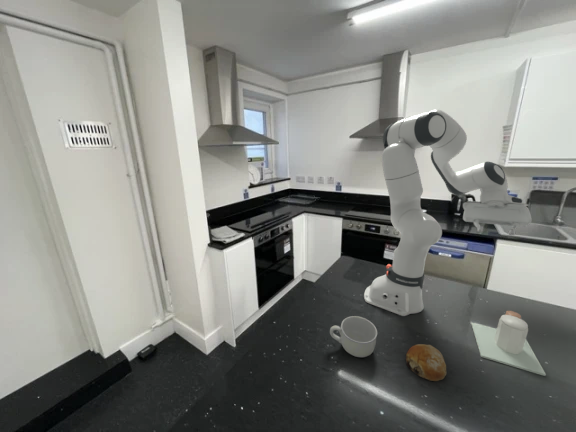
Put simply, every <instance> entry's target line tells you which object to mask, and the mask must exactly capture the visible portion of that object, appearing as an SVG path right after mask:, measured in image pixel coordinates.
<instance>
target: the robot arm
mask: <svg viewBox="0 0 576 432" xmlns="http://www.w3.org/2000/svg"><path fill="white" fill-rule="evenodd" d="M467 137H468V135H467V133H466V131H465V129H464V128H463V127H462V126H461V125H460V124H459V122H458V121H457V120H455V119H454V118H453V117H452V116H451V115H449V114H448V113H447V112H445V111H443V110H441V109H432V110H429V111H426V112H422V113H420V114H415V115H412V116H408V117H404V118H402V119H400V120H397V121H395V122H393V123H391V124H389V125H388V126H387V127H386V128H385V129H384V131H383V135H382V143H383V147H384V149H383V151H382V153H381V162H382V172H383V176H384V179H385V184H386V188H387V192H388V193H387V194H388V196H389V203H390V217H389V218H390V222H391V224H392V226H393V227H394V229H395V231H398V232H399V233H400V234H399V235H400V239H399V240H400V241H399V242H398V246H397V247H396V248H395V249H394V251H393V257H392V264H390V263H388V264H387V265H386V266H385V268H386V269H385V270H386V272H385V274H384V275H381V276H378V277H376V278H374V280H373V281H372V283H371V284H370V285H369V286H367V287H366V289H365V290H364V293H363V298H364V301H365V303H368V304H370V305H373V306H375V307H378V308H380V309H383V310H386V311H388V312H390V313H391V312H392V313H394V314H397V315H399V316H401V317H406V316H408V315H410V314H418V313H420V312H423V310H424V302H423V288H424V285H425V271H424V270H425V267H426V265H425V264H426V259H427V255H428V253H429V251H430V249H431V247H432V246H434V245H435V244H437V243H438V241H440V239H441V238H442V235H443V229H442V226H441V224H440V223H439V222H438V221H437V220H436V219H435V218H434V217H433V216H432V215H430V214H428V213H426V212H424V211H423V209H422V207H421V200H422V199H421V198H422V197H421V196H422V195H423V193H424V189H423V184H422V180H421V176H420V170H419V166H418V162H417V160H416V157H415V153H416V149H420V148H423V147H430V148H431V150H432V152H431V153H430V159H431V163H432V164H433V167H434V168H435V170H436V171H437V173H438V174H439V175H440V177H441V179H442V180H443V182H444V184H445V186H446V189H447V190H448V192H449V193H450V194H452V195H455V196H462V195H465V194H467V193H469V192H473V191H476V190H479V191H480V195H479V201H474V200H467V201H466V202H463V203H462V208H463V210H464V211H463V215H462V220H463V221H464V222H466V223H467V222H468V223H473V226H474V227H475V228H476V231H477V232H478V233H479V232H480V233H483V231H484V226H483V225H481V224H487V225H498V226H499V225H501V226H507V227H508V226H510V227H511V228H510V229H509V230H508V235H509V236H515V235H516V230H517V229H518V227H520V228H521V227H522V228H527V227H528V226H529V225H530V224H531V223H532V219H533V218H532V215H531V211H530V209H529V208H528V206H526V204H527V201H526V199H525V198H521V197H516V196H513V195H510V194H509V193H508V188H509V187H508V179H507V176H506V173H505V171H504V169H503V168H502V167H501V166H500V165H499V164H497V163H495V162H492V161H484V162H481V163H478V164H475V165H473V166H470V167H467V168H465V169H462V170H458V171H454V170H453V168H452V167H451V165H450V163H449V162H451V160H452V159H454V158H455V157H456V156H458V155H459V154H460V153H461V152H462V150H463V149H464V148H465V146H466V144H467Z"/></svg>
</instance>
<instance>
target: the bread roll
mask: <svg viewBox="0 0 576 432" xmlns="http://www.w3.org/2000/svg"><path fill="white" fill-rule="evenodd" d="M405 361H406V366H407V367H408V368H409V369H410V371H411V372H413V373H414V374H416V375H417V376H419V377H420V378H423V379H426V380H427V381H430V382H432V381H433V382H440V381H441V380H444V379H445V377H446V376H447V364H446V362H445V358H444V356H443V354H442V352H441V351H440V350H439V349H437V348H436V347H434V346H433V345H431V344H425V343H424V344H422V343H417V344H414V345H412V346H411V347H410V348H408V350H407V352H406V354H405Z"/></svg>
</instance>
